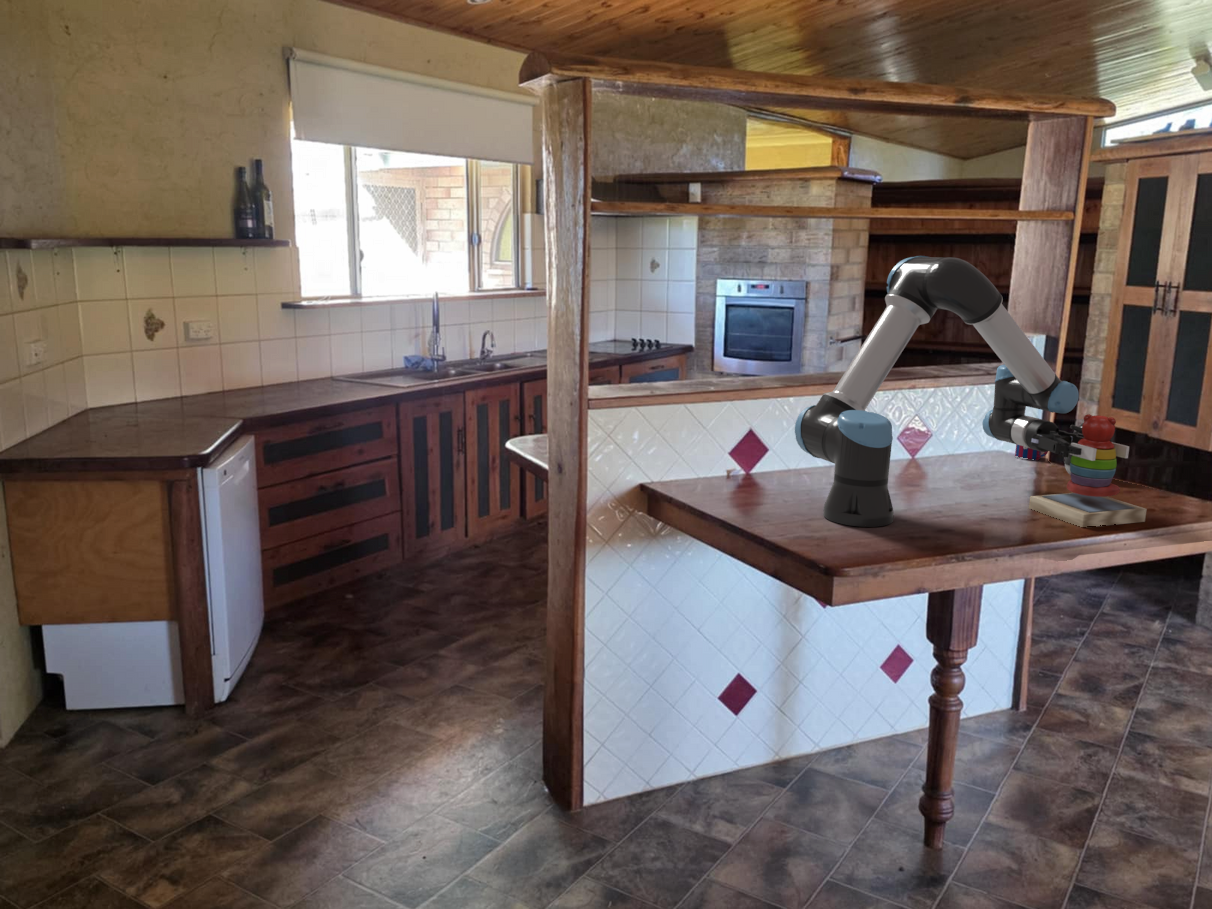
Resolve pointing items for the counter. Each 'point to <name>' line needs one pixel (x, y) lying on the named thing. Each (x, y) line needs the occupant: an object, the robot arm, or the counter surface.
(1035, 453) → the mug
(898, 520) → the counter surface
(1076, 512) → the plinth
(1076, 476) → the stacking bear
